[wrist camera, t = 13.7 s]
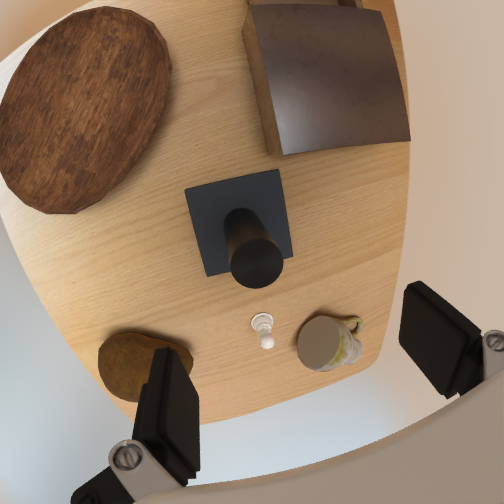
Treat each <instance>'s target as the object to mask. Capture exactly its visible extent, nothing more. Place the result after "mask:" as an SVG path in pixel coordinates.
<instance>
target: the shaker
mask: <svg viewBox="0 0 504 504" xmlns="http://www.w3.org/2000/svg"><path fill="white" fill-rule="evenodd" d="M224 232H225V238H226V245H227V251H228V257H229V263H230V269H231V273H232V275H233V277H234V278H235V280H236V281H237V282H238V283H239V284H241V285H243V286H245V287H248V288H254V289H257V288H263V287H266V286H268V285H270V284H272V283H273V282H274V281H275V280H276V279H277V278H278V277H279V275H280V274H281V272H282V269H283V262H284V261H283V255H282V253H281V251H280V249H279V247H278V246H277V244H276V243H275V242H274V240H273V239H272V237H271V236H270V234H269V233H268V231H267V230H266V228H265V227H264V225H263V224H262V222H261V221H260V220H259V218H258V217H257V215H256V214H255V213H254V212H253V211H252V210H250V209H247V208H237V209H234V210H232V211H231V212H230V213H229V214H228V215H227V216H226V218H225V220H224Z"/></svg>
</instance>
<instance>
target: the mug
mask: <svg viewBox="0 0 504 504" xmlns="http://www.w3.org/2000/svg"><path fill="white" fill-rule="evenodd" d="M355 321H357V322H358V326H357V329H356V332H355V333H352V334H351V333H350V331H349V329H348V328H347V326H346V324H349V323H351V322H355ZM362 327H363V322H362V319H361V318H359V317H351V318H348V319H336V318H334V317H330V316H323V315H319V316H317V317H315V318H313V319H312V320H310V321H308V322H307V323H306V324H305V325H304V327H303V328H302V330H301V332H300V334H299V336H298V342H297V352H298V357H299V359H300V360H301V362H302V363H303V364H304V365H305V366H306V367H308V368H310V369H312V370H315V371H320V372H325V371H330V370H333V369H335V368H337V367H339V366H341V365H342V364H348V365H350V364H353V363H355V362H356V361H358V360H359V358H360V357H361V355H362V351H363V347H362V344H361V342H360V341H359V340H358V339H356V337H357V336H358V335H359V334H360V333H361V331H362Z"/></svg>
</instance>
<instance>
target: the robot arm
mask: <svg viewBox="0 0 504 504" xmlns="http://www.w3.org/2000/svg"><path fill="white" fill-rule="evenodd" d="M480 334H481V330H480V329H479V328H478V327H477V326H476V325H474V324H473V323H472V322H471V321H470V320H469V319H468V318H466V317H465V316H464V315H463V314H462V313H460V312H459V311H458V310H457V309H456V308H454V307H453V306H452V305H451V304H450V303H448V302H447V301H446V300H445V299H443V298H442V297H441V296H440V295H438V294H437V293H436V292H435V291H433V290H432V289H431V288H429V287H428V286H427V285H426V284H424V283H423V282H422V281H416V282H413V283H410V284H408V285H407V288H406V289H405V291H404V297H403V307H402V316H401V324H400V331H399V343H400V345H401V346H402V348H403V349H404V350H405V351H406V352H407V354H408V355H409V356H410V357H411V359H412V360H413V361H414V362H415V363H416V365H417V366H418V367H419V368H420V370H421V371H422V372H423V373H424V375H425V376H426V377H427V378H428V380H429V381H430V382H431V383H432V385H433V386H434V387H435V389H436V390H437V391H438V392H439V394H441V395H444V396H445V397H446V399H449V398H451V397H452V396H454V395H455V394H457V392H458V393H459V394H460V397H459V398H458V399H456V400H454V401H453V402H451V403H450V404H448V405H446V406H445V407H443V408H441V409H440V410H438V411H436V412H434V413H433V414H431V415H429V416H427V417H425V418H424V419H422V420H420V421H418V422H416V423H414V424H412V425H410V426H408V427H406V428H404V429H402V430H400V431H398V432H396V433H394V434H391V435H389V436H387V437H385V438H382V439H380V440H378V441H375V442H373V443H371V444H368V445H366V446H363V447H361V448H358V449H355V450H353V451H350V452H347V453H344V454H341V455H339V456H335V457H332V458H329V459H326V460H323V461H320V462H316V463H313V464H309V465H306V466H302V467H298V468H295V469H290V470H286V471H283V472H277V473H273V474H269V475H263V476H258V477H252V478H247V479H240V480H234V481H227V482H219V483H211V484H203V485H195V486H188V487H186V485H187V484H188V479H195V478H196V472H197V471H200V435H199V434H200V432H199V396H198V393H197V391H196V389H195V387H194V385H193V383H192V381H191V379H190V377H189V375H188V373H187V371H186V369H185V367H184V365H183V363H182V361H181V359H180V357H179V354H178V352H177V350H176V349H171V347H170V346H167V347H161V348H156V349H155V350H154V355H153V359H152V364H151V368H150V373H149V378H148V383H144V384H143V385H142V388H141V392H140V397H139V402H138V407H137V412H136V418H135V423H134V429H133V435H132V440H123V441H121V442H119V443H117V444H116V445H115V446H114V447H113V448H112V449H111V451H110V454H109V457H108V459H109V464H110V466H109V467H107V468H106V469H105V470H103V471H102V472H100V473H99V474H98V475H96V476H95V477H94V478H92V479H91V480H89V481H88V482H86V483H85V484H84V485H82V486H81V487H79V488H78V489H77V490H76V491H75V492H74V493H73V495H72V496H71V501H70V502H71V504H504V332H502V331H499V330H491V331H488V332H486V333H485V334H484V336H483V337H482V336H481V335H480Z"/></svg>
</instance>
